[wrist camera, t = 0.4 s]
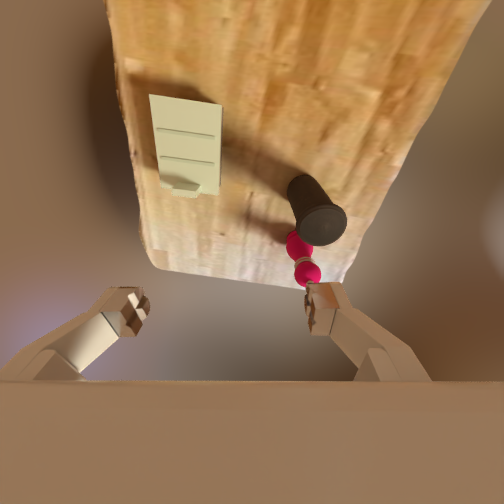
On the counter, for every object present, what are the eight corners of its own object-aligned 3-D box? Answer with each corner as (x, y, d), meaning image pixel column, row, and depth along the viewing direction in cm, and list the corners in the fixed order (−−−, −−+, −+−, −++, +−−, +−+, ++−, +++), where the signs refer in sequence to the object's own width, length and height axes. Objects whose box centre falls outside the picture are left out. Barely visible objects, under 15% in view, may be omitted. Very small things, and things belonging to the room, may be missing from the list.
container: (306, 213, 56) (326, 256, 39) (278, 197, 53) (287, 236, 37) (328, 185, 51) (360, 221, 35) (299, 166, 49) (319, 195, 33)
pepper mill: (284, 229, 59) (293, 276, 42) (309, 226, 58) (329, 273, 42) (285, 250, 63) (294, 300, 46) (309, 248, 62) (327, 297, 46)
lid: (153, 94, 38) (136, 92, 33) (222, 105, 39) (217, 104, 34) (164, 185, 48) (152, 194, 43) (219, 192, 49) (215, 202, 43)
